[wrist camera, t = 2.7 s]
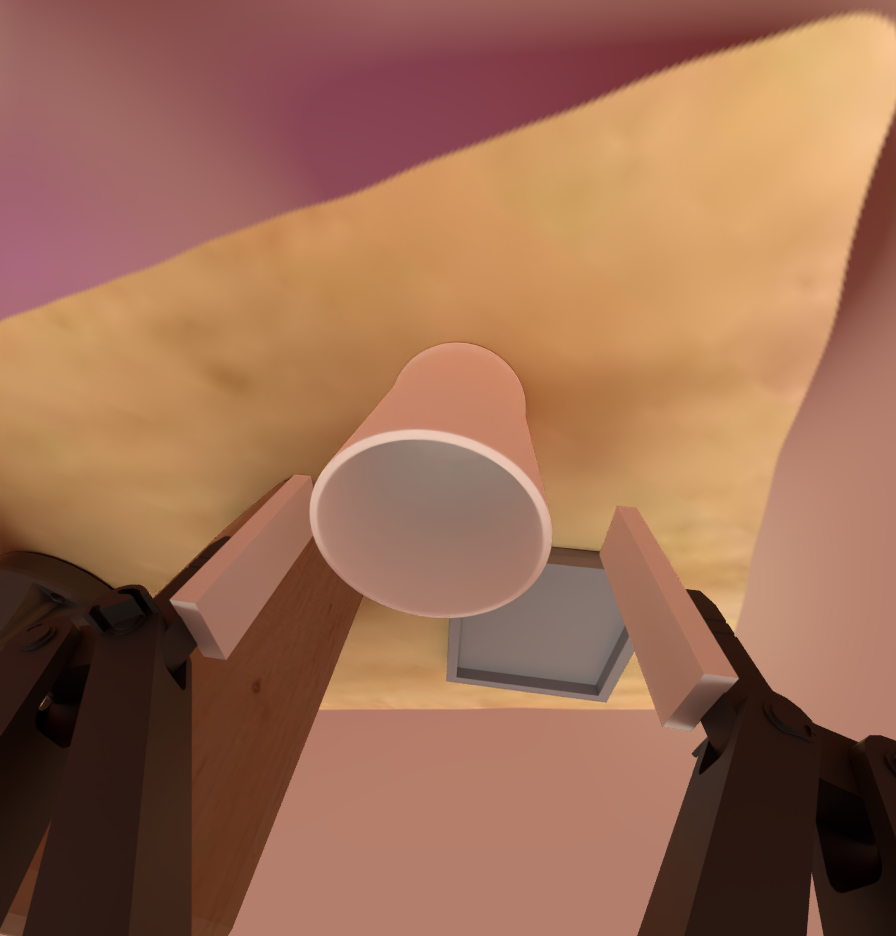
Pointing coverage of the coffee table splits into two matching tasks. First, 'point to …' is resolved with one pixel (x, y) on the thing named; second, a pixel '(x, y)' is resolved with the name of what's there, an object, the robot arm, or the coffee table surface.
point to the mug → (438, 491)
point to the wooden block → (248, 732)
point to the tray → (547, 635)
